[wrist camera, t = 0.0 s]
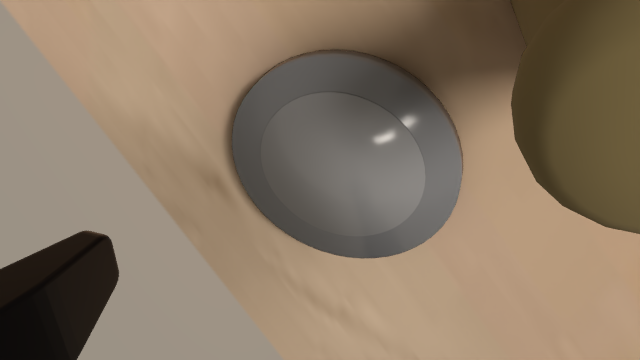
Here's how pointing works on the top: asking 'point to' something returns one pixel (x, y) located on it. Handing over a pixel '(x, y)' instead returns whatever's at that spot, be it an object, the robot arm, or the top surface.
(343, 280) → the top surface
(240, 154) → the coaster
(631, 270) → the top surface
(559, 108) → the cork
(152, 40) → the top surface
